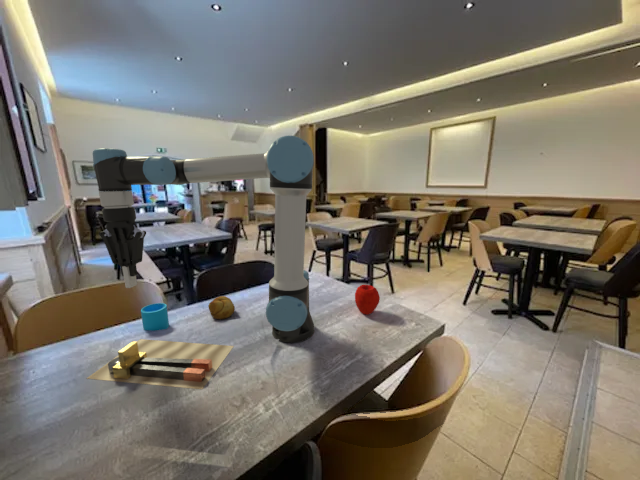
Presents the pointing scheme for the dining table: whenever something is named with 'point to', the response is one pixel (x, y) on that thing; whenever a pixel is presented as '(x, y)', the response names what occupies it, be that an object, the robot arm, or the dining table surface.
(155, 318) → the mug
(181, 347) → the board
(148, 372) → the tong fixed
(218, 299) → the bread roll
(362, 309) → the apple
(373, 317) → the dining table surface
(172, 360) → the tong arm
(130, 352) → the yellow stepped block
